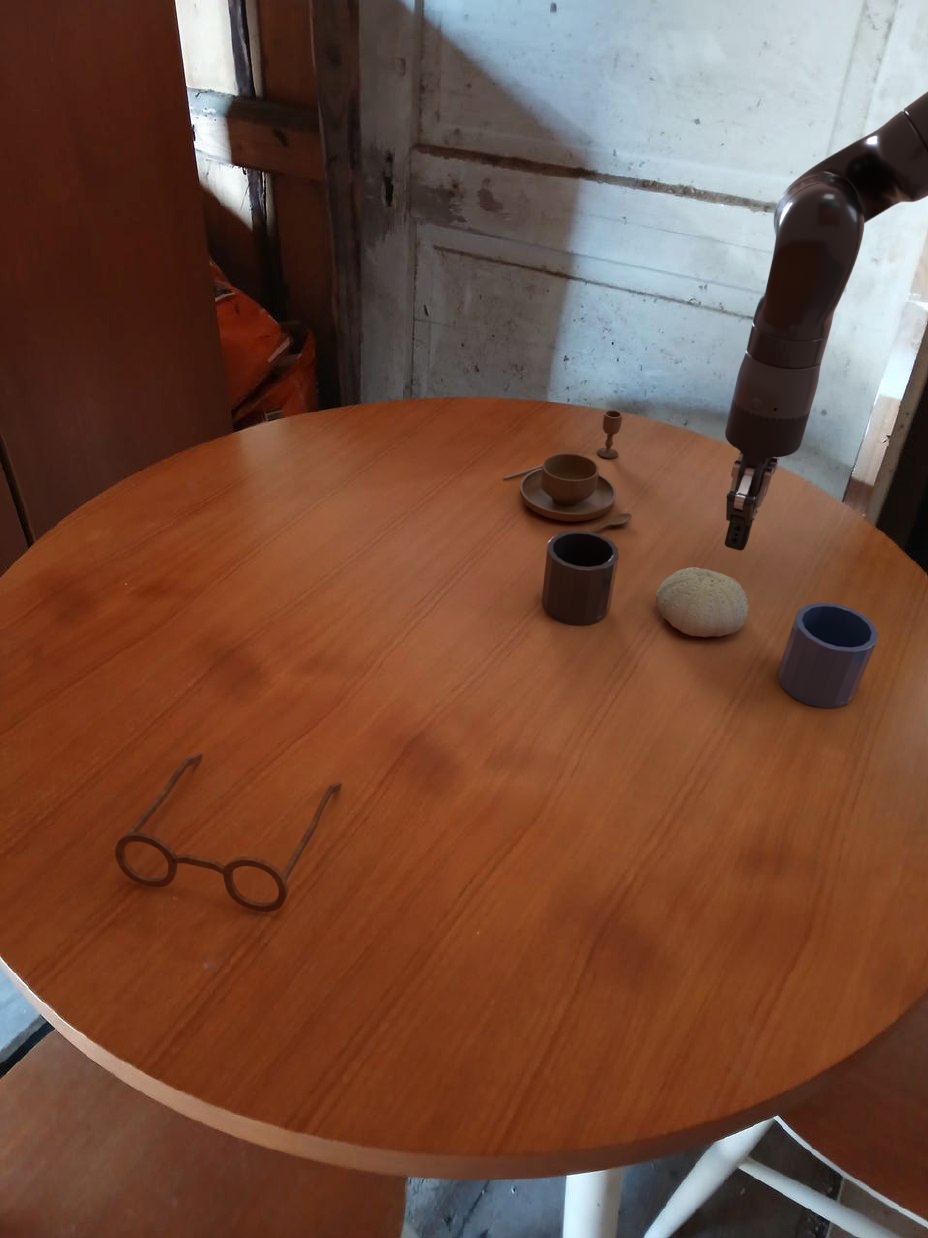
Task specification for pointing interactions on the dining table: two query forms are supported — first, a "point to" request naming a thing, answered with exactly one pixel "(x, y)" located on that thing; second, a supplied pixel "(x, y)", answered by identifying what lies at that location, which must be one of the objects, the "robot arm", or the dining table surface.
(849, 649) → the blue cup
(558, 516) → the place setting
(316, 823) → the glasses
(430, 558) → the dining table surface
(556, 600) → the charcoal cup
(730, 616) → the sea urchin shell
